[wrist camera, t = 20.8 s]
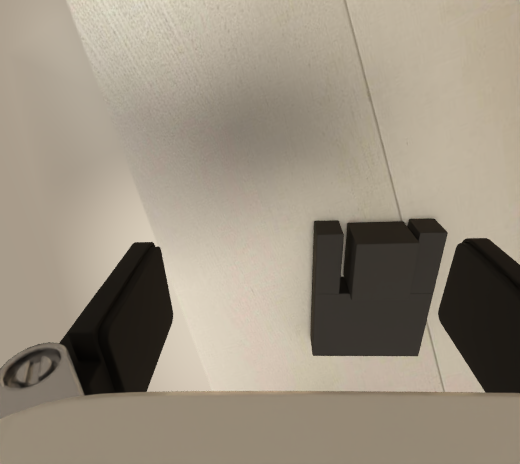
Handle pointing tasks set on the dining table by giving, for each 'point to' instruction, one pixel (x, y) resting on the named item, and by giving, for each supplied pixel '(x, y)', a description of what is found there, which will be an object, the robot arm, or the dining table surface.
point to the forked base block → (370, 311)
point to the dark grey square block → (380, 260)
